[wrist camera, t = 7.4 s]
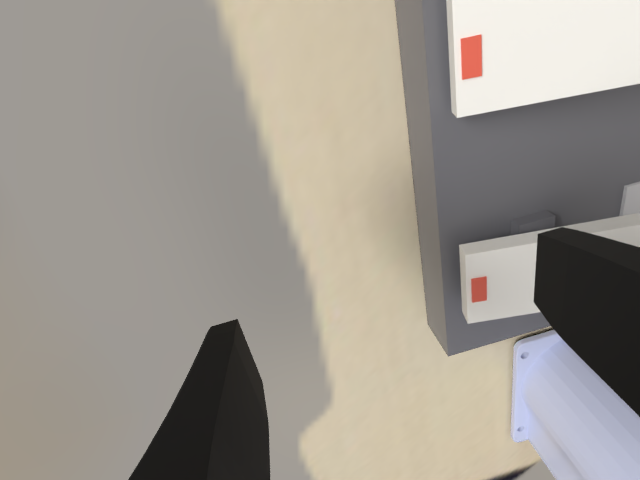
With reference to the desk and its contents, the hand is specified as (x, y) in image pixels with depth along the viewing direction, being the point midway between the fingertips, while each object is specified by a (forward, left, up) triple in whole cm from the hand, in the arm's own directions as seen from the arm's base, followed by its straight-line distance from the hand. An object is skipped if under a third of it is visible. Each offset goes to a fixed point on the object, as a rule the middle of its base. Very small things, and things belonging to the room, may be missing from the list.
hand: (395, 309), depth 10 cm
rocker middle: (+4, -8, -6) cm, 11 cm away
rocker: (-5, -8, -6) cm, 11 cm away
